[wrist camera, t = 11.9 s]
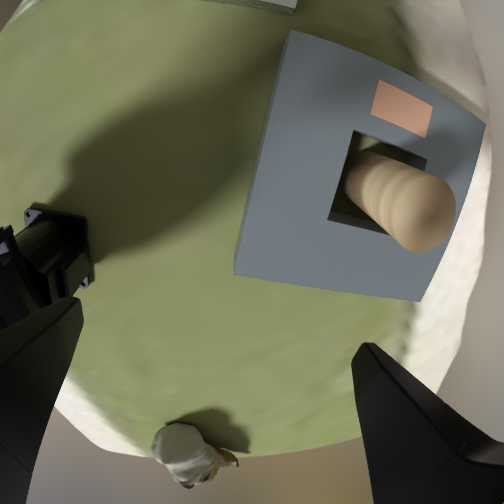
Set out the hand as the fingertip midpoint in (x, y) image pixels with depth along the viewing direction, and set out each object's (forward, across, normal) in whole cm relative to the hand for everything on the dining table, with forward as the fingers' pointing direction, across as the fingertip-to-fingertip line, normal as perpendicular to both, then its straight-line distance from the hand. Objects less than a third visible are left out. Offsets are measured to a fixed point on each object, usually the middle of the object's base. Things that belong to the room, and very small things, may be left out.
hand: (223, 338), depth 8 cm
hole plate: (+13, -9, -4) cm, 16 cm away
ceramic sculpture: (+13, 0, +34) cm, 37 cm away
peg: (+13, -9, -4) cm, 16 cm away
